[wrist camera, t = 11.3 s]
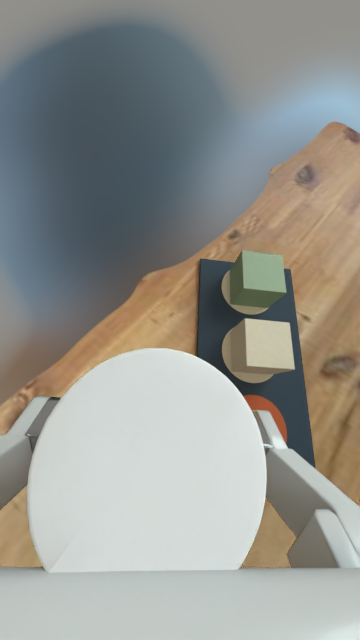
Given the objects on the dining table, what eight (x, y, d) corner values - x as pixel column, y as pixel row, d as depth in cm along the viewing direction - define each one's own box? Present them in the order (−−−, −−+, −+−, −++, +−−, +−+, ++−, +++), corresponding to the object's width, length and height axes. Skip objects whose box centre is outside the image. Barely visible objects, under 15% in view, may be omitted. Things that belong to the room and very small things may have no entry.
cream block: (230, 330, 28) (244, 317, 24) (269, 334, 29) (289, 322, 24) (231, 371, 26) (246, 366, 22) (272, 374, 27) (295, 369, 23)
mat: (199, 260, 32) (200, 257, 31) (288, 271, 33) (291, 268, 32) (193, 469, 23) (194, 471, 23) (313, 473, 24) (317, 475, 24)
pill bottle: (128, 500, 12) (52, 811, 3) (88, 401, 14) (-51, 402, 4) (217, 441, 14) (352, 525, 4) (172, 357, 15) (203, 286, 6)
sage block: (229, 270, 31) (241, 250, 27) (264, 274, 31) (282, 255, 27) (230, 304, 29) (243, 288, 25) (267, 308, 30) (286, 293, 26)
